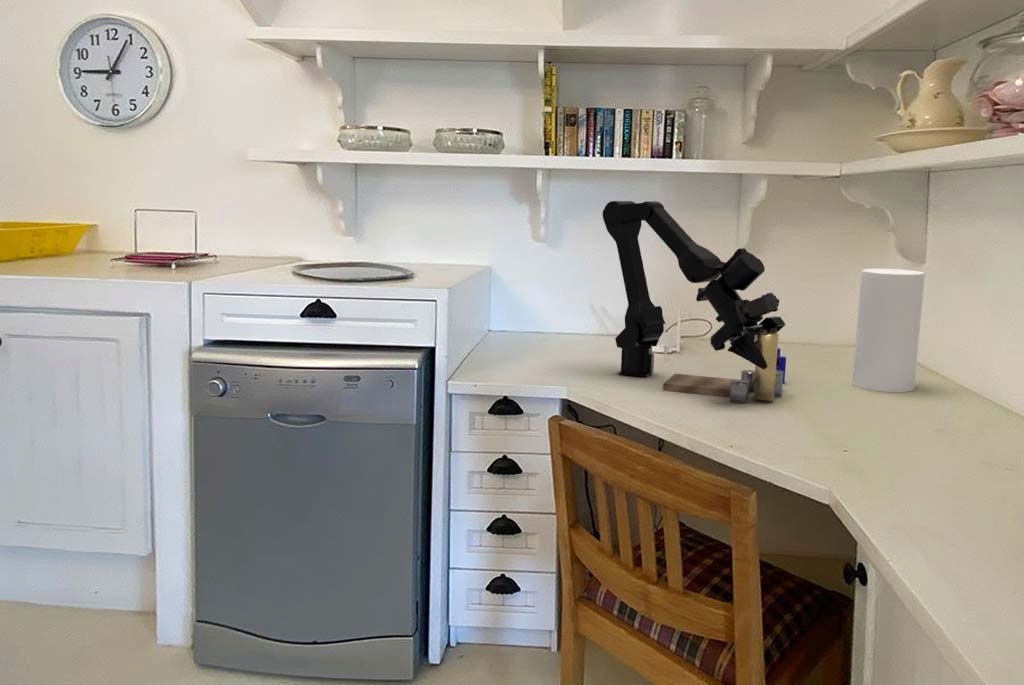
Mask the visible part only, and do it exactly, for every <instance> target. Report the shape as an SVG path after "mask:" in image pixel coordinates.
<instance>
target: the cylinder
mask: <svg viewBox="0 0 1024 685" xmlns="http://www.w3.org/2000/svg"><path fill="white" fill-rule="evenodd" d="M925 276H926V275H925V272H923V271H918V270H913V269H912V270H911V269H910V270H909V269H901V268H900V269H899V268H898V269H894V268H864V269H862V270H861V276H860V285H859V287H860V288H859V300H858V310H857V311H858V313H857V323H856V324H857V325H856V336H855V346H854V347H855V350H854V359H853V360H854V362H853V372H852V385H853V386H855V387H857V388H859V389H863V390H868V391H873V392H874V391H875V392H881V393H882V392H883V393H907V392H908V391H909V392H912V391H914V390H915V385H916V384H915V383H916V373H917V372H916V371H917V361H918V350H919V342H920V341H919V339H920V331H921V330H920V328H921V320H922V318H921V317H922V307H923V300H924V299H923V298H924V287H925V278H926V277H925Z"/></svg>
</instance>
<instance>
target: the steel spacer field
mask: <svg viewBox="0 0 1024 685" xmlns="http://www.w3.org/2000/svg"><path fill="white" fill-rule="evenodd" d="M740 377H741V378H740V379H738V380H731V386H730V397H729V402H730V403H734V404H748V403H749V395H750V394H749V393H754V379H755V370H753V369H752V370H751V369H746V370H744V369H743V370H741V376H740ZM783 385H784V384H783V371H782V370H777V369H776V377H775V391H774V398H781V397H782V394H783Z"/></svg>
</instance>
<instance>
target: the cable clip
mask: <svg viewBox="0 0 1024 685" xmlns="http://www.w3.org/2000/svg"><path fill="white" fill-rule="evenodd" d="M777 355H778V358H779V362H780V364H779V365H778V366H777V367H776V369H777V370H782V371H783V384H782V385H785V377H786V365H787V357H786V356H781V348H780V347H778V349H777Z"/></svg>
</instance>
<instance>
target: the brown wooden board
mask: <svg viewBox="0 0 1024 685" xmlns="http://www.w3.org/2000/svg"><path fill="white" fill-rule="evenodd" d="M731 380H739V379H737V378H735V379H734V378H727V377H725V378H724V377H716V376H715V377H713V376H705V375H695V374H693V375H692V374H683V373H674V374H673V375H671V376H670V377H669V378H667V380H665V381H664V382H663V388H662V390H663V391H665V390H666V391H667V392H676V393H688V394H696V395H707V396H716V397H725V398H726V397H727V398H730V386H731Z"/></svg>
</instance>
